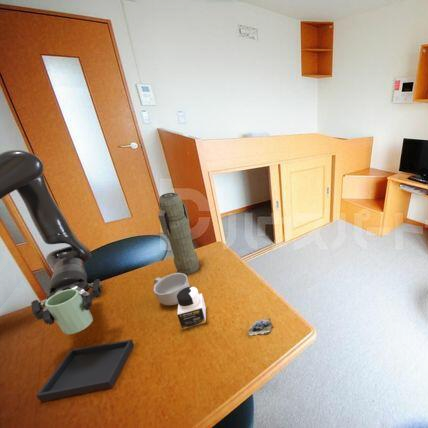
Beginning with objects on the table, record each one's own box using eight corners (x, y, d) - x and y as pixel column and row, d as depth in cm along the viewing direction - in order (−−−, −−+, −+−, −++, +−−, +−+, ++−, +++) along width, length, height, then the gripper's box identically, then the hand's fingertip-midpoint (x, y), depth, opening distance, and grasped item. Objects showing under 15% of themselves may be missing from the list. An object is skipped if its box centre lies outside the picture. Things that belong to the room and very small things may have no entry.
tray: (41, 401, 58) (35, 395, 57) (75, 355, 69) (71, 349, 68) (112, 387, 62) (108, 381, 60) (134, 345, 72) (131, 339, 71)
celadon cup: (57, 336, 61) (37, 308, 57) (73, 317, 67) (56, 290, 62) (84, 332, 63) (67, 304, 58) (97, 314, 68) (83, 287, 64)
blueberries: (275, 331, 77) (274, 327, 76) (250, 342, 74) (249, 338, 73) (268, 316, 83) (268, 312, 82) (245, 326, 79) (244, 321, 78)
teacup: (197, 295, 91) (193, 279, 87) (168, 315, 83) (162, 297, 79) (177, 282, 98) (173, 266, 94) (149, 298, 89) (142, 281, 86)
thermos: (170, 276, 100) (145, 200, 85) (187, 260, 111) (168, 189, 96) (189, 278, 99) (168, 201, 85) (205, 261, 110) (188, 190, 95)
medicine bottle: (182, 330, 77) (172, 302, 72) (183, 313, 83) (175, 287, 78) (205, 322, 80) (198, 296, 75) (205, 307, 86) (199, 281, 81)
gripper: (27, 282, 65) (18, 319, 54) (95, 261, 74) (100, 289, 63) (40, 302, 69) (34, 341, 58) (104, 279, 78) (110, 310, 67)
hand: (68, 314), depth 61 cm, fingers closed on celadon cup, 6 cm apart
